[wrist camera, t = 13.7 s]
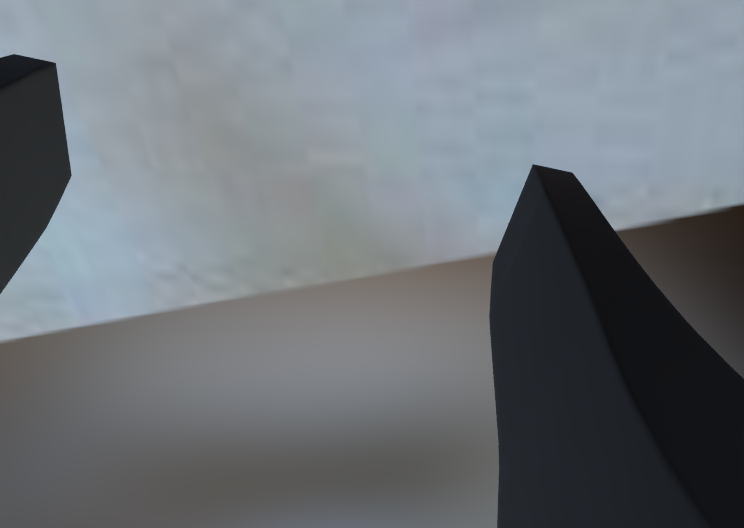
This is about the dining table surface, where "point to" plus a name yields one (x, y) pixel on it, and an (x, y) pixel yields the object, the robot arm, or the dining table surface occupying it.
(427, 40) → the dining table surface
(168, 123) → the dining table surface
